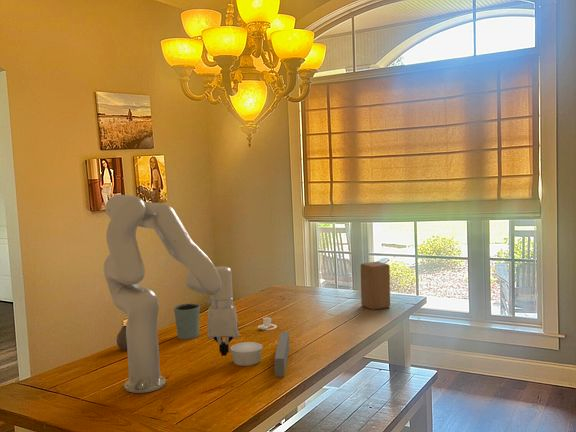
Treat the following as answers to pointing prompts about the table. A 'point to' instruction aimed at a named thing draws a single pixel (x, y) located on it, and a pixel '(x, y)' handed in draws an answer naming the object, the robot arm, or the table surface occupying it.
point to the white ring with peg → (266, 324)
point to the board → (282, 354)
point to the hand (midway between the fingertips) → (224, 354)
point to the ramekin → (246, 353)
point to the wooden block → (375, 285)
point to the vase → (122, 339)
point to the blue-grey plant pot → (187, 320)
